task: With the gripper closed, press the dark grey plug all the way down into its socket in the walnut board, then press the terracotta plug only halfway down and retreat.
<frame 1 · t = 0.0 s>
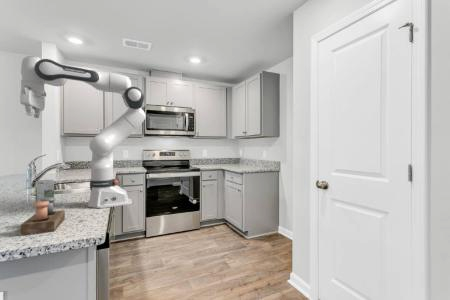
hand: (33, 116, 110), 48 cm above the countertop, fingers open, 8 cm apart
syrup box: (45, 207, 118), on the countertop
grey plug: (48, 205, 92), point 8 cm above the countertop, slide at 0.0 cm
walnut board: (45, 226, 89), on the countertop
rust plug: (41, 210, 85), point 8 cm above the countertop, slide at 0.0 cm
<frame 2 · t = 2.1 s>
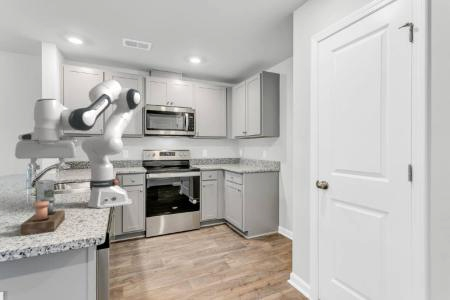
hand: (47, 169, 92), 23 cm above the countertop, fingers open, 6 cm apart
nothing on the countertop moved.
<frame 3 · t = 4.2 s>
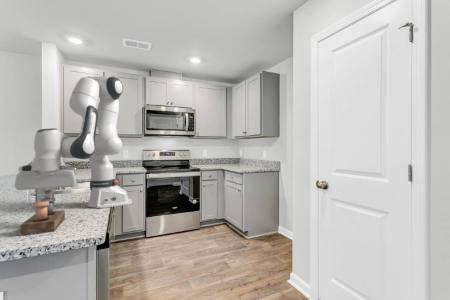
hand: (47, 198, 92), 11 cm above the countertop, fingers closed, pressing on grey plug
grey plug: (48, 206, 92), point 7 cm above the countertop, slide at 0.2 cm, touching gripper
everything else where it was.
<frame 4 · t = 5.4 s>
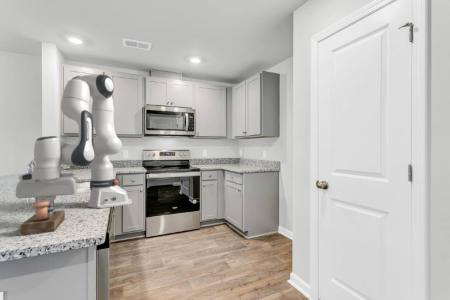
hand: (48, 206, 93), 7 cm above the countertop, fingers closed
grey plug: (48, 214, 93), point 4 cm above the countertop, slide at 3.7 cm
everything else where it was.
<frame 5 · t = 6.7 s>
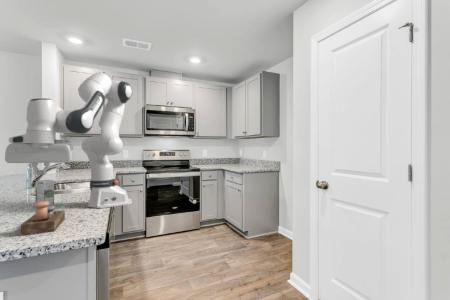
hand: (40, 174, 85), 22 cm above the countertop, fingers closed
nothing on the countertop moved.
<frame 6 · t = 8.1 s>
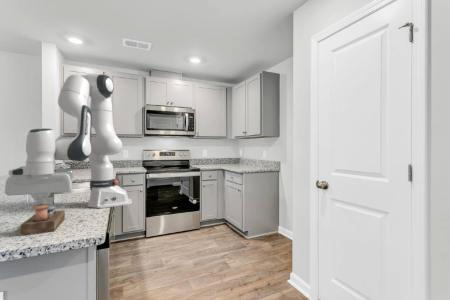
hand: (40, 204, 85), 10 cm above the countertop, fingers closed, pressing on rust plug
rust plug: (41, 212, 85), point 7 cm above the countertop, slide at 0.9 cm, touching gripper
everything else where it was.
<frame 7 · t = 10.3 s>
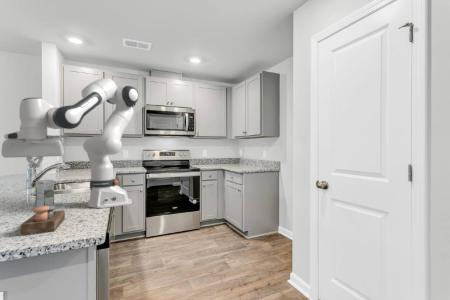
hand: (35, 167, 94), 24 cm above the countertop, fingers closed
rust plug: (41, 215, 85), point 6 cm above the countertop, slide at 1.9 cm
everything else where it was.
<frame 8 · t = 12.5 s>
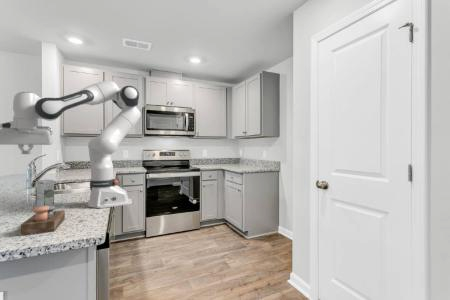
hand: (25, 154, 106), 29 cm above the countertop, fingers closed
nothing on the countertop moved.
at the end: grey plug slide at 3.7 cm; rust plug slide at 1.9 cm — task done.
